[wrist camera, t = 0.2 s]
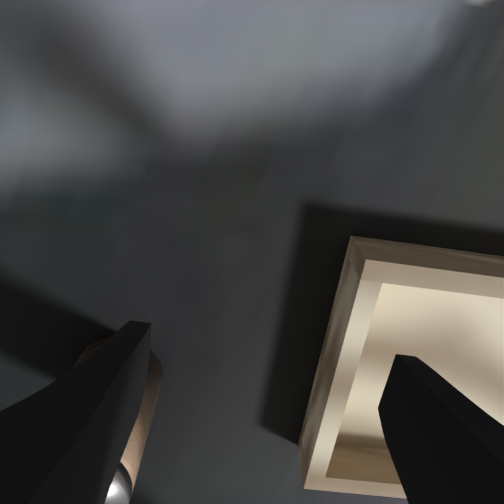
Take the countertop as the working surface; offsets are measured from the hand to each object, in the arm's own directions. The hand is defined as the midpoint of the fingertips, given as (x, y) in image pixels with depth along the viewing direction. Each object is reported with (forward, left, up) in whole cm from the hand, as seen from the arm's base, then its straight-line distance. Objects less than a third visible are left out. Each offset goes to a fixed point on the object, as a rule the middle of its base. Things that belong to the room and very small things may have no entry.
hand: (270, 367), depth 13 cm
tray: (-6, -12, -10) cm, 17 cm away
